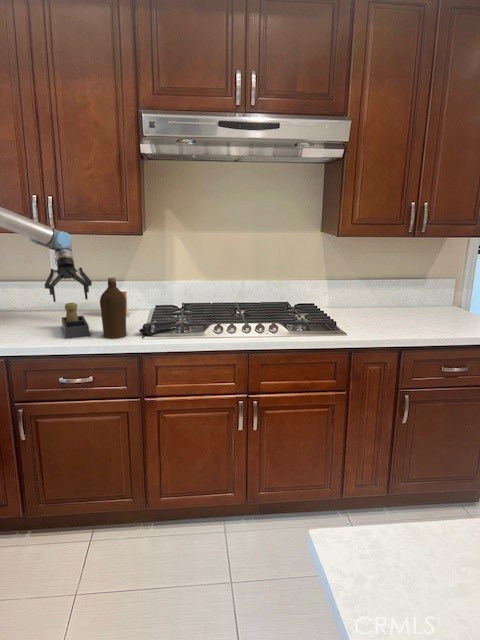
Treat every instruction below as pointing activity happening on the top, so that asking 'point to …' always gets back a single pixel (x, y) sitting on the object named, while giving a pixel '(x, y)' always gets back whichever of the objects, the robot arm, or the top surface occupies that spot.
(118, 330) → the olive oil
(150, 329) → the can opener
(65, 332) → the dark grey hollow block
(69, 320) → the cork
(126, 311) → the small box
